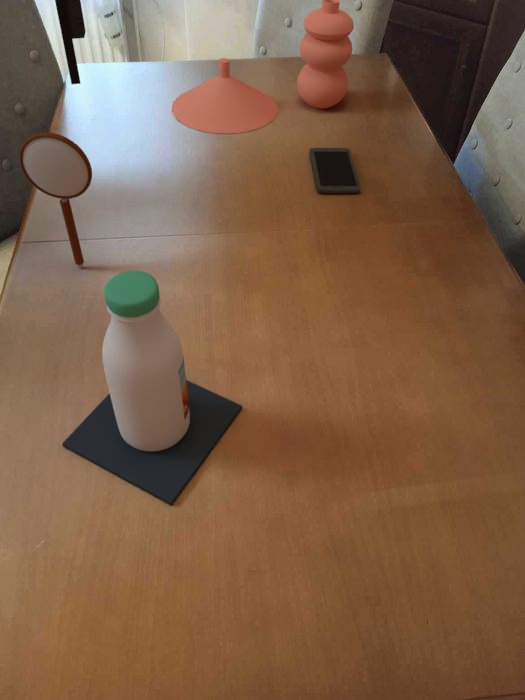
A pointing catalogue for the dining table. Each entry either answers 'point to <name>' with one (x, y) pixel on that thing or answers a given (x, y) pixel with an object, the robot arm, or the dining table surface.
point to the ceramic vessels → (257, 107)
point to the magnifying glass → (58, 175)
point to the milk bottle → (144, 365)
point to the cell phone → (334, 170)
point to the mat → (158, 466)
